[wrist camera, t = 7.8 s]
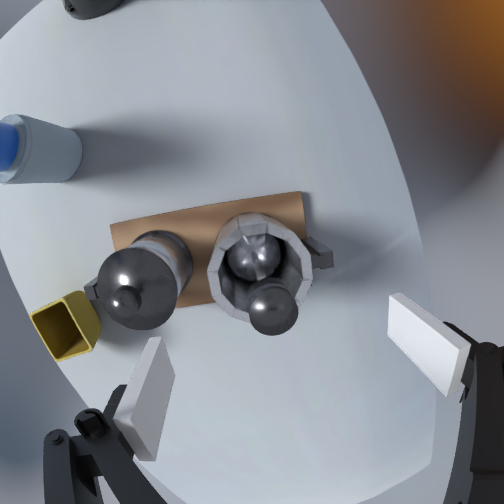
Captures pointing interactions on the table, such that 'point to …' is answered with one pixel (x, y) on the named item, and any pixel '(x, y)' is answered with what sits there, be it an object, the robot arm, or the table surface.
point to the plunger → (263, 283)
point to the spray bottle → (37, 151)
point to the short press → (143, 280)
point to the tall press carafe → (288, 270)
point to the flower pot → (68, 326)
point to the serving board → (210, 232)
